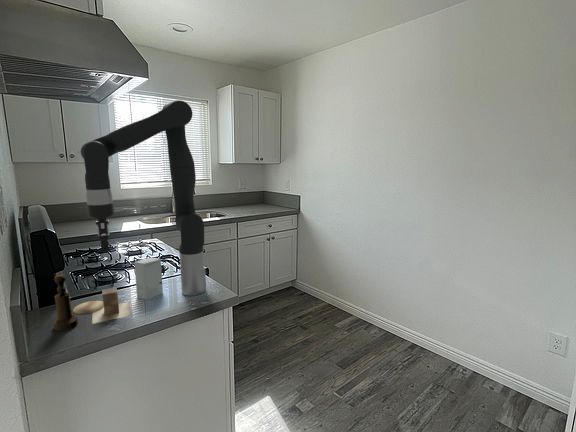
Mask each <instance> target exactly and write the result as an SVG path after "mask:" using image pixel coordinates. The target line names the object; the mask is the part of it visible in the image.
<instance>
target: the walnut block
mask: <svg viewBox="0 0 576 432" xmlns="http://www.w3.org/2000/svg"><path fill="white" fill-rule="evenodd" d="M117 288H118V287H113V288H107V289H102V290H101V291H102V292H101V294H102V301H103V304H104V314H105V316H108V315H113V314H118V313H119V305H118V304H119V296H118V289H117Z"/></svg>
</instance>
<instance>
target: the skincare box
mask: <svg viewBox="0 0 576 432" xmlns="http://www.w3.org/2000/svg"><path fill="white" fill-rule="evenodd" d="M133 264H134V273H135V288H136V297H137V298H138V299H141V300H144V301H147V300H149V299H153V298H155V297H157V296H159V295H162V294H163V293H164V290H163V276H162V275H163V272H162V260H161V258H157V257H148V258H144V259H140V260H137V261H134V262H133Z"/></svg>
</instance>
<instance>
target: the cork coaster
mask: <svg viewBox="0 0 576 432" xmlns="http://www.w3.org/2000/svg"><path fill="white" fill-rule="evenodd" d="M103 307H104V304H103V300H91V301H86V302H82V303H80V304H78V305H76V306H75V307H74V308H73V309H72V313H74V314H76V315H88V314H92V313H93V312H96V311H98V310H100V309H102V308H103Z"/></svg>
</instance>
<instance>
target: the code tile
mask: <svg viewBox="0 0 576 432" xmlns="http://www.w3.org/2000/svg"><path fill="white" fill-rule="evenodd" d="M118 305H119V313H118V314H113V315H108V316H105V314H104V307H103V308H102V309H100V310H98V311H96V312H93V313H91V314H92V315H91V316H92V318H91V324H92V325H94V324H99V323H102V322H106V321H112V320H116V319H120V318H125V317H129V316H132V314H133V313H132V309H131V305H130V302H129V301H127V302H121V303H118Z"/></svg>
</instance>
